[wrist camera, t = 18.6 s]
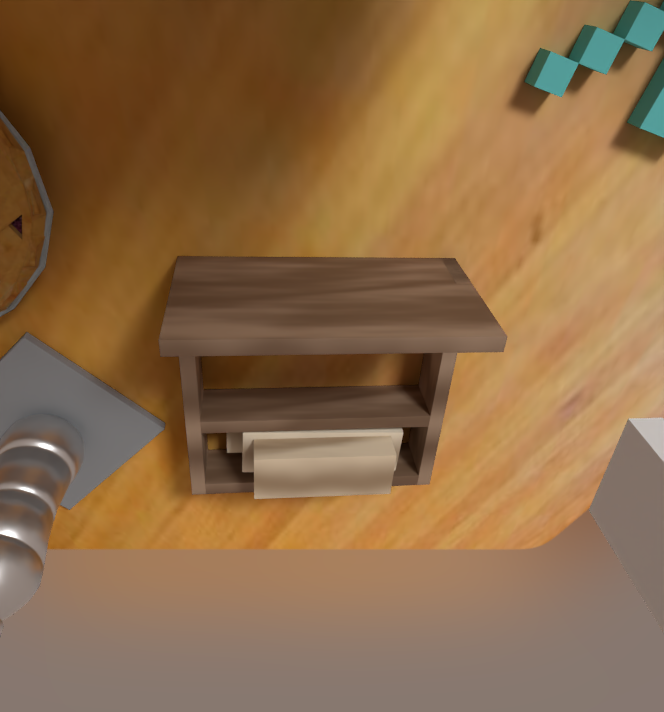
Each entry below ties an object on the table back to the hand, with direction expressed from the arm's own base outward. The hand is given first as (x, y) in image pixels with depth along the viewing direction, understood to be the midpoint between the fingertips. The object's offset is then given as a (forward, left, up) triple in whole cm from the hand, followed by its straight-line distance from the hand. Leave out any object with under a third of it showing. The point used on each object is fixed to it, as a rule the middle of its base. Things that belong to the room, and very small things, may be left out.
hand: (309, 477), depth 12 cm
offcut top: (+23, -17, -30) cm, 42 cm away
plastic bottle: (+6, -33, -34) cm, 48 cm away
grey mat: (+6, -33, -35) cm, 48 cm away
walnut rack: (+18, -12, -35) cm, 41 cm away
